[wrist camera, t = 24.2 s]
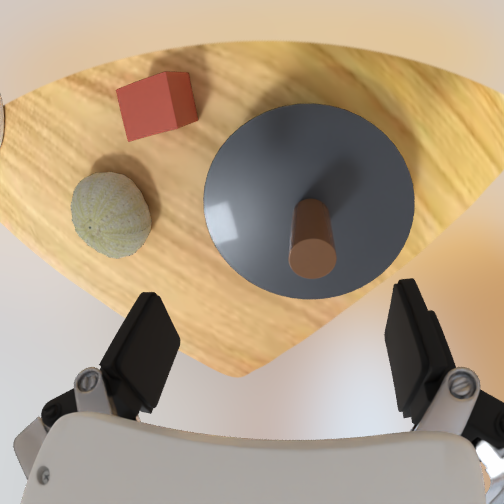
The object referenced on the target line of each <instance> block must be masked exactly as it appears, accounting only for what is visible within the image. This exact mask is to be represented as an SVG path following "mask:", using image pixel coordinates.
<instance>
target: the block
mask: <svg viewBox="0 0 504 504" xmlns="http://www.w3.org/2000/svg"><path fill="white" fill-rule="evenodd" d="M116 93H117V97H118V102H119V106H120V111H121V115H122V119H123V123H124V127H125V131H126V135H127V139H128V142H130V141H133V140H137V139H140V138H144V137H147V136H151V135H154V134H158V133H162V132H166V131H170V130H174V129H178V128H180V127H183V126H185V125H188V124H190V123H193V122H196V121H198V117H197V112H196V107H195V102H194V98H193V93H192V88H191V83H190V78H189V73H185V72H162V73H159V74H156V75H153V76H150V77H148V78H145V79H142V80H139V81H137V82H134V83H132V84H129V85H127V86H124V87H122V88H119V89H117V90H116Z"/></svg>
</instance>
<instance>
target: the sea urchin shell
mask: <svg viewBox="0 0 504 504" xmlns="http://www.w3.org/2000/svg"><path fill="white" fill-rule="evenodd" d="M71 211H72V221H73V223H74V226H75V231H76V232H77V234H78V235H79V237H81V238H82V239H83V240H84V242H86V243H87V245H88V246H91V247H92V248H94V249H95V250H96V251H97V252H99V253H102V254H104V255H106V256H108V257H112V258H117V259H118V258H122V257H125V256H130V255H132V254H134V253H135V252H136V251H137V250H138V249H139V248H140V247H142V245H144V242H145V240H146V238H147V237H148V235H149V233H150V231H151V222H152V220H151V217H150V212H149V209H148V205H147V204H146V202H145V200H144V198H143V195H142V194H141V191H140V190H139V189H138V187H137V186H136V185H135V183H134V182H133V181H132V180H131V179H129V178H128V177H126V176H125V175H122V174H117V173H113V172H106V173H95V174H92V175H90V176H88V177H86V178H84V179H83V180H81V181H80V182H79V183H78V185H77V187H76V188H75V190H74V193H73V198H72V202H71Z"/></svg>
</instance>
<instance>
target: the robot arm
mask: <svg viewBox="0 0 504 504" xmlns="http://www.w3.org/2000/svg"><path fill="white" fill-rule="evenodd" d="M3 132H4V110H3V104H2V98H1V95H0V147H1V143H2V139H3ZM385 343H386V347H387V352H388V356H389V361H390V366H391V371H392V376H393V382H394V387H395V393H396V399H397V405H398V410H399V412H403V417H404V418H408V417H411V419H412V423H413V424H414V426H413V427H412V429H411V430H410V432H401V433H392V434H383V435H375V436H366V437H355V438H343V439H342V438H341V439H324V440H266V439H264V440H263V439H248V438H235V437H225V436H216V435H208V434H201V433H194V432H188V431H182V430H176V429H171V428H166V427H160V426H156V425H151V424H147V423H142V422H141V421H140V418H139V416H138V414H139V411H141V412H146V413H150V414H151V413H152V410H153V408H155V407H156V406H157V404H158V401H159V399H160V396H161V393H162V391H163V388H164V385H165V383H166V380H167V377H168V375H169V372H170V370H171V367H172V364H173V362H174V359H175V357H176V354H177V351H178V349H179V346H180V337H179V335H178V333H177V331H176V329H175V327H174V325H173V323H172V321H171V319H170V317H169V315H168V313H167V310H166V308H165V306H164V304H163V302H162V300H161V298H160V296H157V294H156V293H155V292H143V293H141V294H140V295H139V297H138V299H137V300H136V302H135V304H134V305H133V307H132V309H131V310H130V312H129V314H128V315H127V317H126V319H125V320H124V322H123V324H122V325H121V327H120V329H119V330H118V332H117V334H116V336H115V337H114V339H113V341H112V343H111V344H110V346H109V348H108V350H107V351H106V353H105V355H104V357H103V359H102V360H101V362H100V364H99V365H100V366H101V368H100V370H99V369H97V368H95V367H89V368H86V369H84V370H83V371H81V372H80V373H79V374H78V375H77V377H76V379H75V382H74V388H73V389H72V390H70V391H68V392H66V393H64V394H62V395H60V396H58V397H56V398H54V399H52V400H50V401H49V402H48V403H46V405H45V406H44V407H43V409H42V413H41V418H40V417H37V418H36V419H35V420H34V421H33V422H32V423H31V424H30V425H29V426H27V427H26V428H25V429H24V430H23V431H22V432H21V433H20V434H19V435H18V436H17V437H16V438H15V440H14V446H13V447H14V451H15V453H16V456H17V458H18V460H19V463H20V465H21V467H22V469H23V471H24V474H25V476H26V478H27V480H28V481H27V484H26V487H25V490H24V493H23V497H22V501H21V504H504V403H503V402H502V401H500V400H498V399H496V398H494V397H493V396H491V395H489V394H487V393H485V392H484V391H482V390H480V380H479V378H478V376H477V375H476V373H475V372H473V371H472V370H470V369H469V368H465V367H457V368H456V366H455V363H454V360H453V358H452V355H451V352H450V349H449V346H448V344H447V341H446V339H445V336H444V334H443V331H442V328H441V326H440V323H439V321H438V319H437V316H436V314H435V312H434V311H432V310H431V311H428V309H427V307H426V305H425V302H424V300H423V298H422V296H421V293H420V291H419V288H418V286H417V284H416V282H415V280H414V279H413V278H411V279H402V280H399V281H398V284H394V288H393V293H392V299H391V304H390V309H389V314H388V319H387V324H386V329H385ZM480 462H482V463H483V464H484V465H485V466H486V469H485V470H486V472H487V473H488V474H489V476H490V478H491V485H490V488H489V490H488V492H487V493H486V495H485V487H484V479H483V473H482V468H481V465H480Z"/></svg>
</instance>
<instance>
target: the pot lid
mask: <svg viewBox="0 0 504 504" xmlns="http://www.w3.org/2000/svg"><path fill="white" fill-rule="evenodd" d="M203 200H204V214H205V219H206V224H207V227H208V230H209V233H210V236H211V238H212V240H213V242H214V244H215V246H216V248H217V249H218V251H219V252H220V254H221V255H222V257H223V258H224V259H225V260H226V262H227V263H228V264H229V265H230V266H231V267H232V268H233V269H234V270H235V271H236V272H237V273H238V274H240V275H241V276H242V277H244V278H245V279H246V280H248V281H249V282H251V283H253V284H254V285H256V286H258V287H260V288H262V289H264V290H266V291H269V292H272V293H275V294H278V295H281V296H286V297H290V298H298V299H324V298H331V297H335V296H340V295H343V294H346V293H349V292H352V291H354V290H356V289H359V288H361V287H363V286H364V285H366V284H368V283H369V282H371V281H373V280H374V279H375V278H377V277H378V276H379V275H381V274H382V273H383V272H384V271H385V270H386V269H387V268H388V267H389V266H390V265H391V264H392V262H393V261H394V260H395V259H396V258H397V256H398V255H399V253H400V251H401V250H402V248H403V247H404V245H405V242H406V240H407V238H408V236H409V233H410V229H411V226H412V222H413V216H414V190H413V183H412V180H411V176H410V173H409V170H408V168H407V165H406V163H405V161H404V159H403V157H402V155H401V154H400V152H399V151H398V149H397V148H396V146H395V145H394V144H393V143H392V141H391V140H390V139H389V138H388V137H387V136H386V135H385V134H384V133H383V132H382V131H381V130H379V129H378V128H377V127H376V126H375V125H373V124H372V123H370V122H369V121H367V120H365V119H364V118H362V117H361V116H359V115H356V114H354V113H352V112H349V111H347V110H345V109H341V108H337V107H334V106H330V105H322V104H314V103H312V104H294V105H288V106H282V107H279V108H276V109H273V110H269V111H267V112H265V113H263V114H260V115H258V116H256V117H254V118H253V119H251V120H250V121H248V122H247V123H245V124H244V125H242V126H241V127H240V128H239V129H237V130H236V131H235V132H234V133H233V134H232V135H231V136H230V137H229V138H228V139H227V140H226V142H225V143H224V144H223V145H222V147H221V148H220V149H219V151H218V153H217V154H216V156H215V158H214V160H213V161H212V164H211V166H210V169H209V171H208V174H207V178H206V183H205V188H204V198H203Z"/></svg>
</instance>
